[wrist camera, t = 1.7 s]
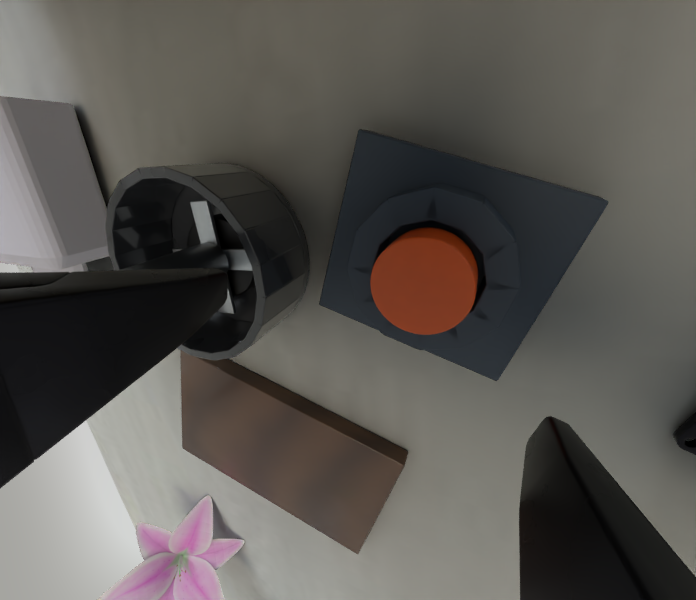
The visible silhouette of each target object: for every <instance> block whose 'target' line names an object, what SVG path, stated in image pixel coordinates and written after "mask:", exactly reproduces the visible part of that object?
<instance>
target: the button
mask: <svg viewBox="0 0 696 600" xmlns="http://www.w3.org/2000/svg"><path fill="white" fill-rule="evenodd" d="M477 281H478V267H477V262H476V259H475V257H474V255H473V253H472V251H471V249H470V248H469V247H468V245H467V244H466V243H465V242H464V241H463V240H462V239H460V238H459V237H458V236H456V235H455V234H453V233H451V232H449V231H446V230H444V229H440V228H434V227H423V228H417V229H413V230H410V231H408V232H406V233H404V234H402V235H401V236H399V237H398V238H397V239H395V240H394V241H393V242H392V243H391V244H390V245H389V246H388V247H387V248H386V249H385V250H384V251H383V252H382V253H381V254H380V255H379V257H378V258H377V260H376V262H375V263H374V266H373V268H372V272H371V279H370V287H371V293H372V297H373V300H374V302H375V304H376V306H377V308H378V309H379V311H380V312H381V313H382V315H383V316H384V317H385V318H386V319H387V320H388V321H389V322H391V323H392V324H393V325H395V326H397V327H398V328H400V329H402V330H405V331H407V332H410V333H414V334H421V335H431V334H437V333H442V332H444V331H447V330H449V329H451V328H453V327H455V326H456V325H458V324H459V323H460V322H461V321H462V320H464V319H465V317H466V316H467V315H468V314H469V312H470V310H471V308H472V306H473V304H474V301H475V297H476V290H477Z"/></svg>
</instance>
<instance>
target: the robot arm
mask: <svg viewBox="0 0 696 600" xmlns="http://www.w3.org/2000/svg"><path fill="white" fill-rule="evenodd" d="M227 294H228V275H227V273H226V272H224V271H222V270H219V269H217V268H184V269H148V270H112V271H76V272H71V273H70V272H32V273H0V488H1V487H2V486H4V485H5V484H6V483H8V482H9V481H10V480H11V479H13V478H14V477H15V476H16V475H18V474H19V473H20V472H21V471H23V470H24V469H25V468H26V467H28V466H29V465H30V464H31V463H33V462H34V460H35V459H37V458H39V457H40V456H41V455H42V454H44V453H45V452H46V451H48V450H49V449H50V448H51V447H53V446H54V445H55V444H56V443H57V442H59V441H60V440H61V439H63V438H64V437H65V436H66V435H68V434H69V433H70V432H71V431H73V430H74V429H75V428H76V427H78V426H79V425H80V424H82V423H83V422H84V421H85V420H87V419H88V418H89V417H91V416H92V415H93V414H94V413H96V412H97V411H98V410H99V409H101V408H102V407H103V406H104V405H106V404H107V403H108V402H109V401H111V400H112V399H113V398H115V397H116V396H117V395H118V394H120V393H121V392H122V391H123V390H125V389H126V388H127V387H128V386H130V385H131V384H132V383H133V382H135V381H136V380H137V379H139V378H140V377H141V376H142V375H144V374H145V373H146V372H147V371H149V370H150V369H151V368H152V367H154V366H155V365H156V364H157V363H159V362H160V361H161V360H163V359H164V358H165V357H166V356H168V355H169V354H170V353H171V352H173V351H174V350H175V349H176V348H178V347H179V346H180V345H181V344H183V343H184V342H185V341H186V340H188V339H189V338H190V337H191V336H192V335H193V334H194V333H195V332H196V331H197V330H198V329H199V328H200V327H201V326H202V325H204V324H205V323H206V322H207V321H208V320H209V319H210V318H211V317H212V316H213V315H214V314H215V313H216V312H217V311H218V310H219V309H220V308H221V307H222V306H223V305H224V304H225V302H226V300H227ZM673 438H674V439H675V441H676V443H677V444H678V446H679V447H680V448H682V449H683V450H685V451H688V452H690V453H692V454H695V455H696V413H695V414H693V415H692V416H691V417H690V418H689V419H688V420H687V421H686V422H685V423H684V424H682V425H681V426H680V427H679V428H678V429H677V430H676V431H675V432H674V434H673ZM689 438H694V439H693V440H690V441H686V440H687V439H689ZM519 542H520V600H696V577H695V576H694V575H693V574H692V572H691V571H690V570H689V569H688V567H687V566H686V565H685V564H684V563H683V561H682V560H681V559H680V558H679V557H678V555H677V554H676V553H675V552H674V551H673V549H672V548H671V547H670V546H669V545H668V543H667V542H666V541H665V540H664V539H663V537H662V536H661V535H660V534H659V533H658V531H657V530H656V529H655V528H654V527H653V525H652V524H651V523H650V522H649V521H648V519H647V518H646V517H645V516H644V514H643V513H642V512H641V511H640V510H639V508H638V507H637V506H636V505H635V504H634V502H633V501H632V500H631V499H630V498H629V496H628V495H627V494H626V493H625V492H624V490H623V489H622V488H621V487H620V486H619V484H618V483H617V482H616V481H615V480H614V478H613V477H612V476H611V475H610V474H609V472H608V471H607V470H606V469H605V468H604V466H603V465H602V464H601V463H600V461H599V460H598V459H597V458H596V457H595V455H594V454H593V453H592V452H591V451H590V449H589V448H588V447H587V446H586V445H585V443H584V442H583V441H582V440H581V439H580V437H579V436H578V435H577V434H576V433H575V431H574V430H573V429H572V428H571V427H570V425H569V424H567V423H565V422H563V421H561V420H558V419H556V418H554V417H551V416H549V417H546V418H545V419H544V420H543V421H542V422H541V424H540V425H539V426H538V428H537V429H536V430H535V432H534V433H533V434H532V435H531V437H530V438H529V440H528V442H527V445H526V451H525V460H524V469H523V478H522V487H521V496H520V508H519Z"/></svg>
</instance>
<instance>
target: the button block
mask: <svg viewBox="0 0 696 600" xmlns="http://www.w3.org/2000/svg"><path fill="white" fill-rule="evenodd" d="M607 205H608V201H607V200H605V199H603V198H601V197H598V196H594V195H591V194H587V193H584V192H580V191H577V190H573V189H570V188H566V187H563V186H560V185H556V184H553V183H549V182H546V181H542V180H539V179H535V178H532V177H528V176H525V175H521V174H518V173H514V172H511V171H507V170H504V169H500V168H497V167H493V166H490V165H486V164H483V163H480V162H476V161H473V160H469V159H466V158H462V157H459V156H455V155H452V154H448V153H445V152H441V151H438V150H434V149H431V148H427V147H424V146H420V145H417V144H413V143H410V142H406V141H403V140H399V139H396V138H393V137H389V136H386V135H382V134H379V133H375V132H372V131H368V130H361V129H360V130H359V131H358V135H357V139H356V144H355V148H354V153H353V157H352V161H351V166H350V170H349V175H348V179H347V184H346V188H345V192H344V197H343V201H342V206H341V210H340V214H339V219H338V223H337V228H336V232H335V236H334V241H333V245H332V250H331V254H330V259H329V263H328V267H327V272H326V276H325V281H324V285H323V289H322V294H321V298H320V303H319V304H320V305H321V306H324V307H326V308H328V309H331V310H333V311H335V312H338V313H340V314H342V315H345V316H347V317H349V318H351V319H354V320H356V321H358V322H361V323H363V324H365V325H368V326H370V327H372V328H375V329H377V330H379V331H380V332H381V333H383V335H386V336H388V337H390V338H393V339H395V340H397V341H400V342H402V343H404V344H407V345H409V346H411V347H413V348H416V349H419V350H426V351H428V352H430V353H433V354H435V355H437V356H439V357H442V358H444V359H446V360H449V361H451V362H453V363H456V364H458V365H460V366H463V367H465V368H467V369H470V370H472V371H474V372H477V373H479V374H481V375H483V376H486V377H488V378H490V379H493V380H495V381H497V380H498V379H499V378H500V376H501V374H502V373H503V371H504V370H505V368H506V366H507V365H508V363H509V362H510V360H511V358H512V357H513V355H514V354H515V352H516V350H517V349H518V347H519V346H520V344H521V342H522V341H523V339H524V338H525V336H526V334H527V333H528V331H529V330H530V328H531V326H532V325H533V323H534V322H535V320H536V318H537V317H538V315H539V314H540V312H541V310H542V309H543V307H544V306H545V304H546V302H547V301H548V299H549V298H550V296H551V294H552V293H553V291H554V289H555V288H556V286H557V285H558V283H559V281H560V280H561V278H562V277H563V275H564V273H565V272H566V270H567V269H568V267H569V265H570V264H571V262H572V261H573V259H574V257H575V256H576V254H577V253H578V251H579V249H580V248H581V246H582V245H583V243H584V241H585V240H586V238H587V237H588V235H589V233H590V232H591V230H592V229H593V227H594V225H595V224H596V222H597V221H598V219H599V217H600V216H601V214H602V213H603V211H604V209H605V208H606V206H607ZM423 227H434V228H440V229H444V230H446V231H449V232H451V233H453V234H455V235H456V236H458V237H459V238H460V239H462V240H463V241H464V242H465V243H466V244H467V245H468V247H469V248H470V249H471V251H472V253H473V255H474V257H475V259H476V262H477V267H478V281H477V290H476V297H475V301H474V304H473V306H472V308H471V310H470V312H469V314H468V315H467V316H466V317H465V319H464V320H462V321H461V322H460V323H459V324H458V325H456V326H455V327H453V328H451V329H449V330H447V331H444V332H442V333H437V334H431V335H421V334H414V333H410V332H407V331H405V330H402V329H400V328H398V327H397V326H395V325H393V324H392V323H391V322H389V321H388V320H387V319H386V318H385V317H384V316H383V315H382V313H381V312H380V311H379V309H378V308H377V306H376V304H375V302H374V300H373V297H372V293H371V287H370V279H371V272H372V268H373V266H374V263H375V262H376V260H377V258H378V257H379V255H380V254H381V253H382V252H383V251H384V250H385V249H386V248H387V247H388V246H389V245H390V244H391V243H392V242H393V241H394V240H395V239H397V238H398V237H399V236H401V235H402V234H404V233H406V232H408V231H410V230H413V229H417V228H423Z"/></svg>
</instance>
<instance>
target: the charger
mask: <svg viewBox="0 0 696 600" xmlns="http://www.w3.org/2000/svg"><path fill="white" fill-rule="evenodd" d="M106 216H107V208H106V205H105V202H104V199H103V196H102V193H101V189H100V186H99V183H98V180H97V177H96V174H95V171H94V168H93V165H92V162H91V159H90V156H89V152H88V149H87V146H86V143H85V140H84V137H83V134H82V131H81V128H80V125H79V122H78V119H77V115H76V112H75V109H74V106H73V104H69V103H60V102H51V101H41V100H32V99H23V98H13V97H2V96H0V263H6V264H13V265H21V266H28V267H32V270H33V272H70V273H71V272H76V271H89V270H88V267H87V265H86V262H90V261H94V260H97V259H101V258H104V257H108V256H109V253H108V245H107V237H106V230H105V223H106Z"/></svg>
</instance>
